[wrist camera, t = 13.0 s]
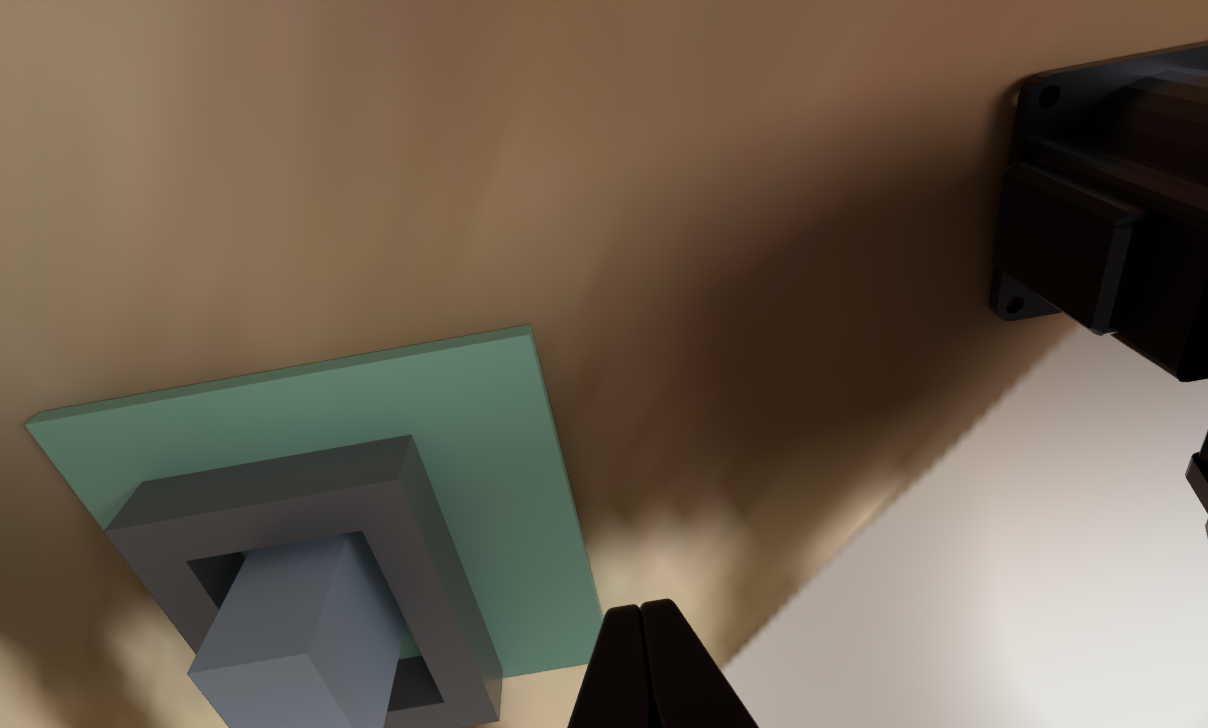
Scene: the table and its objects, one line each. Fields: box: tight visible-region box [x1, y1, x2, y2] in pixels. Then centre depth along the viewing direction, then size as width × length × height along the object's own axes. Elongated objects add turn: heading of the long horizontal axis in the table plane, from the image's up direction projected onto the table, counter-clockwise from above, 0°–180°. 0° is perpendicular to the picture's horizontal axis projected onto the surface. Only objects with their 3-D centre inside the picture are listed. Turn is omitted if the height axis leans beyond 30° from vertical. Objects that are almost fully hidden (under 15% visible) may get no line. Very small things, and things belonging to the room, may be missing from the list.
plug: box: [187, 531, 406, 728], centre depth 20 cm, size 3×6×5 cm, turn 9°
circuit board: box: [25, 324, 603, 678], centre depth 22 cm, size 14×14×1 cm
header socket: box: [104, 434, 503, 728], centre depth 22 cm, size 8×11×2 cm
